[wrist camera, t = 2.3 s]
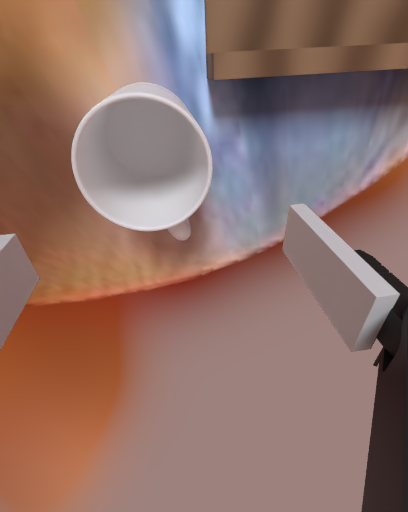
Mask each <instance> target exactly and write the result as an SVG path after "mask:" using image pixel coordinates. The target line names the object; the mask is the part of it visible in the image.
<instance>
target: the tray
mask: <svg viewBox="0 0 408 512" xmlns="http://www.w3.org/2000/svg"><path fill="white" fill-rule="evenodd" d="M205 30H206V63H207V78H209V79H213V80H223V79H239V78H256V77H273V76H289V75H306V74H323V73H339V72H356V71H373V70H389V69H406V68H408V0H205Z"/></svg>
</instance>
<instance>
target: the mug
mask: <svg viewBox="0 0 408 512" xmlns="http://www.w3.org/2000/svg"><path fill="white" fill-rule="evenodd" d="M71 163H72V170H73V173H74V177H75V180H76V182H77V185H78V187H79V189H80V191H81V193H82V194H83V196H84V198H85V199H86V200H87V202H88V203H89V204H90V205H91V206H92V207H93V208H94V209H95V210H96V211H97V212H98V213H99V214H100V215H102V216H103V217H104V218H106V219H107V220H109V221H111V222H113V223H115V224H117V225H119V226H122V227H124V228H128V229H131V230H137V231H159V230H164V229H167V230H168V231H169V232H170V234H171V235H172V236H173V237H174V238H176V239H177V240H180V241H184V240H187V239H188V238H189V237H190V235H191V227H190V223H189V219H188V218H189V217H190V216H191V215H192V214H193V213H194V212H195V211H196V210H197V209H198V208H199V207H200V205H201V204H202V202H203V201H204V199H205V197H206V195H207V193H208V190H209V187H210V184H211V179H212V168H213V164H212V155H211V151H210V147H209V144H208V142H207V139H206V137H205V135H204V133H203V131H202V129H201V128H200V126H199V125H198V124H197V122H196V121H195V119H194V118H193V116H192V115H191V113H190V112H189V110H188V109H187V108H186V106H185V105H184V103H183V102H182V101H181V100H180V99H179V98H178V97H177V96H176V95H175V94H173V93H172V92H171V91H169V90H168V89H166V88H164V87H162V86H159V85H156V84H153V83H133V84H129V85H126V86H124V87H122V88H120V89H118V90H117V91H115V92H114V93H113V94H111V95H110V96H108V97H107V98H105V99H104V100H103V101H101V102H100V103H98V104H97V105H96V106H94V107H93V108H92V109H91V110H90V111H89V112H88V113H87V114H86V115H85V116H84V118H83V119H82V121H81V122H80V124H79V126H78V128H77V130H76V132H75V135H74V139H73V142H72V149H71Z"/></svg>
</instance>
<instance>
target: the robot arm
mask: <svg viewBox="0 0 408 512" xmlns="http://www.w3.org/2000/svg"><path fill="white" fill-rule="evenodd" d="M283 251H284V253H285V255H286V256H287V258H288V259H289V261H290V262H291V264H292V265H293V266H294V268H295V269H296V271H297V272H298V274H299V275H300V277H301V278H302V280H303V281H304V283H305V284H306V286H307V287H308V289H309V290H310V292H311V293H312V295H313V296H314V297H315V299H316V300H317V302H318V303H319V305H320V306H321V308H322V309H323V311H324V312H325V314H326V315H327V317H328V318H329V320H330V321H331V323H332V324H333V326H334V327H335V329H336V330H337V332H338V333H339V335H340V336H341V338H342V339H343V341H344V342H345V344H346V345H347V346H348V348H349V349H350V351H351V352H354V351H360V350H367V349H371V348H372V346H373V344H374V342H375V340H376V338H377V339H378V340H379V342H380V343H381V344H382V345H383V348H382V350H381V352H380V354H379V355H378V357H377V359H376V360H375V362H374V366H377V365H378V363H379V369H378V377H377V385H376V394H375V402H374V411H373V419H372V428H371V437H370V445H369V453H368V462H367V470H366V479H365V487H364V496H363V505H362V512H408V287H407V286H405V285H404V284H403V283H402V282H401V281H400V280H399V279H397V278H396V277H395V276H394V275H393V274H392V273H389V271H388V270H387V269H386V268H385V267H384V266H382V265H381V263H379V262H378V261H377V260H376V259H375V258H374V257H373V256H371V255H369V254H367V253H365V252H363V251H361V250H353V249H352V248H351V247H349V246H348V245H347V244H346V243H345V242H344V241H343V240H342V239H341V238H340V237H338V235H337V234H336V233H334V231H332V230H331V229H330V228H329V227H328V226H327V225H326V224H325V223H324V222H323V221H322V220H321V219H320V218H319V217H318V216H317V215H316V214H315V213H313V212H312V211H311V210H310V209H309V208H308V207H307V206H306V205H305V204H295V205H289V211H288V218H287V224H286V230H285V237H284V243H283ZM38 281H39V277H38V275H37V273H36V271H35V269H34V267H33V265H32V264H31V262H30V260H29V258H28V256H27V254H26V252H25V250H24V249H23V247H22V245H21V243H20V241H19V239H18V237H17V235H16V234H6V235H0V350H1V348H2V346H3V344H4V342H5V341H6V339H7V337H8V335H9V333H10V332H11V330H12V328H13V326H14V324H15V323H16V321H17V319H18V317H19V315H20V314H21V312H22V310H23V308H24V306H25V305H26V303H27V301H28V299H29V297H30V296H31V294H32V292H33V290H34V288H35V287H36V285H37V283H38Z"/></svg>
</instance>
